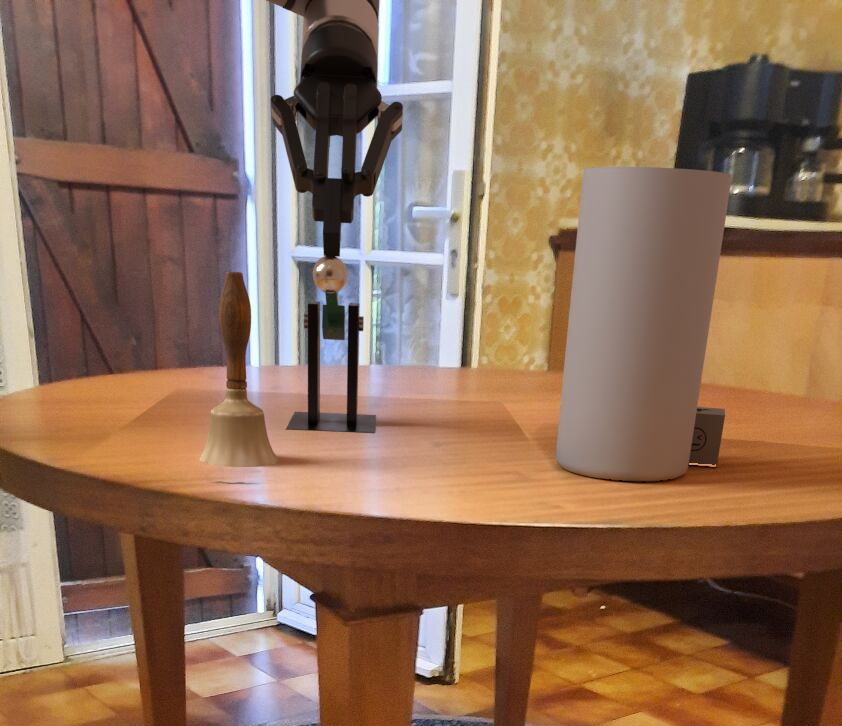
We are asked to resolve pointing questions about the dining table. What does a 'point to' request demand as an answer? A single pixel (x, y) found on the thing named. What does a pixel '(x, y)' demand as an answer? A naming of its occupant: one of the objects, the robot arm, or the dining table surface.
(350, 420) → the bracket
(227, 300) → the hand bell
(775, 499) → the dining table surface
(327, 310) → the lever
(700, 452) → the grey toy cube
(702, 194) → the cylinder vase
